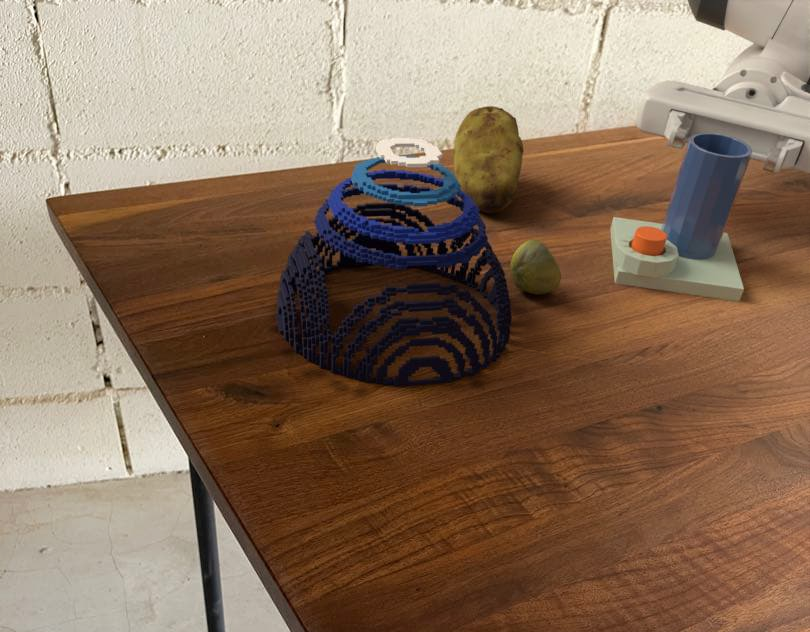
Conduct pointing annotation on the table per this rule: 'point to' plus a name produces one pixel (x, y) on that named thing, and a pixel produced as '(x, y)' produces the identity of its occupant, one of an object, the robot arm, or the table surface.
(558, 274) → the green mango
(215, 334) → the table surface
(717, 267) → the scale
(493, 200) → the potato
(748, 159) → the cup
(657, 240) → the tare button
